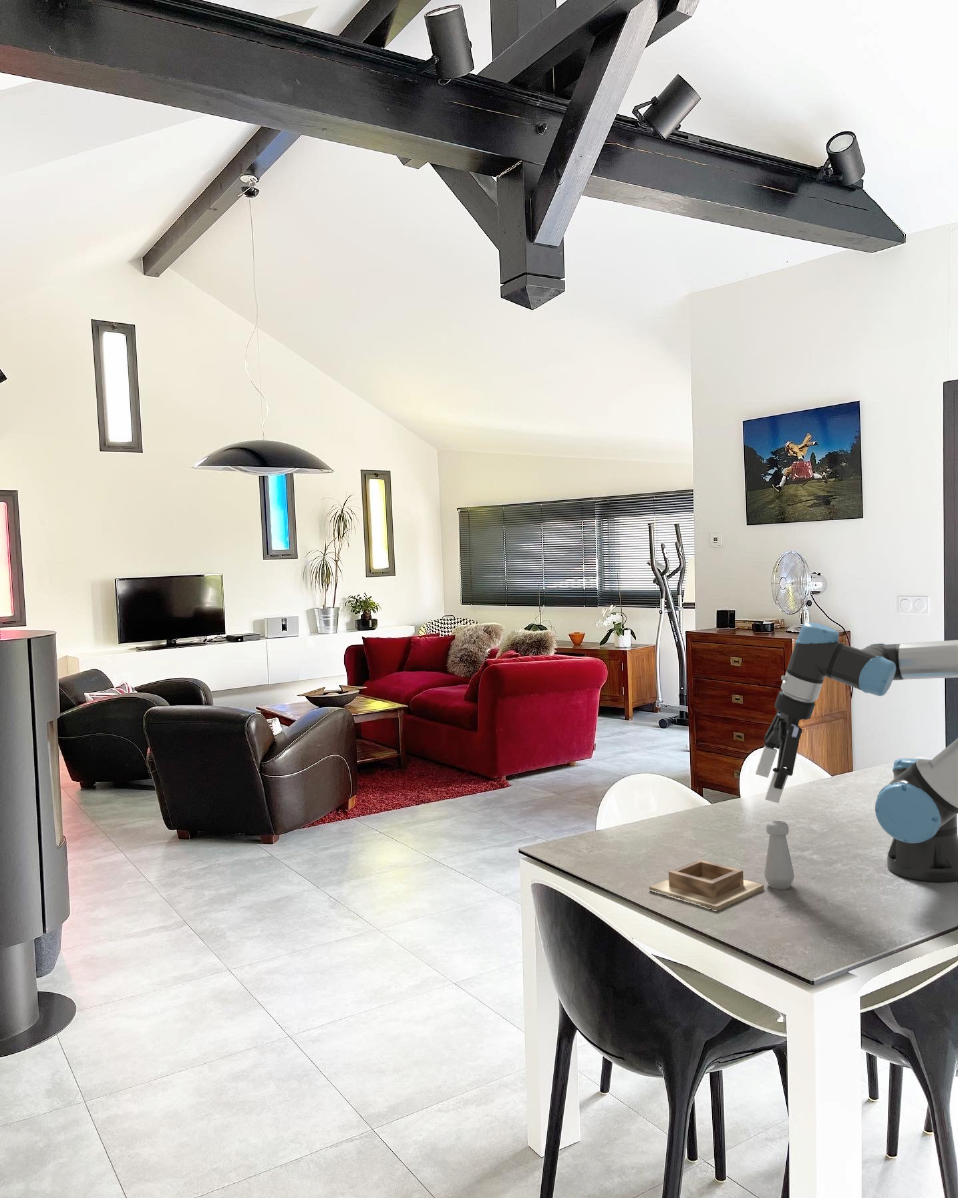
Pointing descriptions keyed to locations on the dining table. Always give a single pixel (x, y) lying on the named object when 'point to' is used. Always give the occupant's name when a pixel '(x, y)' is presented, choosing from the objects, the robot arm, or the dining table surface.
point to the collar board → (708, 884)
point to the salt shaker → (778, 857)
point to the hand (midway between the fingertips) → (766, 787)
